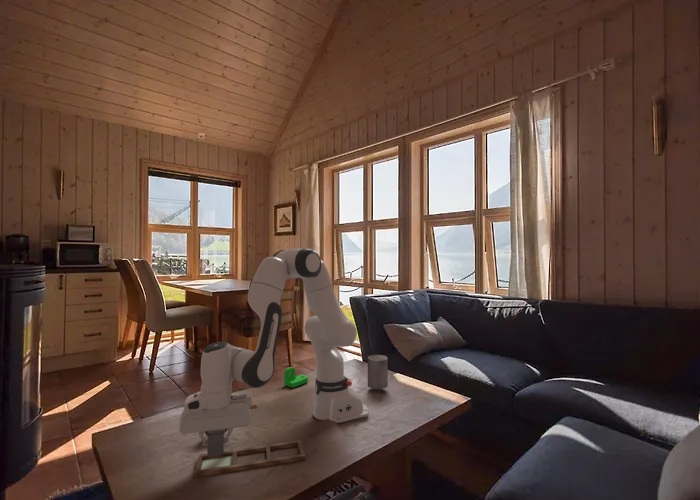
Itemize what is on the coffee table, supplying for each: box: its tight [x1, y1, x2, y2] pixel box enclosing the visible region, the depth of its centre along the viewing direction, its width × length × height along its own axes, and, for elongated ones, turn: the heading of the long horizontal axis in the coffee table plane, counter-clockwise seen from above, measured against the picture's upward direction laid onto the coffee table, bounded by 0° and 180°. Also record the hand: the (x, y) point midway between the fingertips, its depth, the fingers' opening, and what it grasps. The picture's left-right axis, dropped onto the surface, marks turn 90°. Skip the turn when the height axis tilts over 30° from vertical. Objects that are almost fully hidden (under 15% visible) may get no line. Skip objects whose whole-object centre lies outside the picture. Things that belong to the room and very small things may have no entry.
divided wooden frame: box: [193, 439, 306, 478], centre depth 112 cm, size 32×10×1 cm, turn 106°
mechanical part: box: [283, 366, 309, 389], centre depth 180 cm, size 12×6×8 cm, turn 142°
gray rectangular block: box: [206, 429, 226, 456], centre depth 109 cm, size 4×4×6 cm
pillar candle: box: [367, 354, 389, 390], centre depth 175 cm, size 10×10×15 cm
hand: (216, 443), depth 110 cm, fingers closed on gray rectangular block, 4 cm apart
